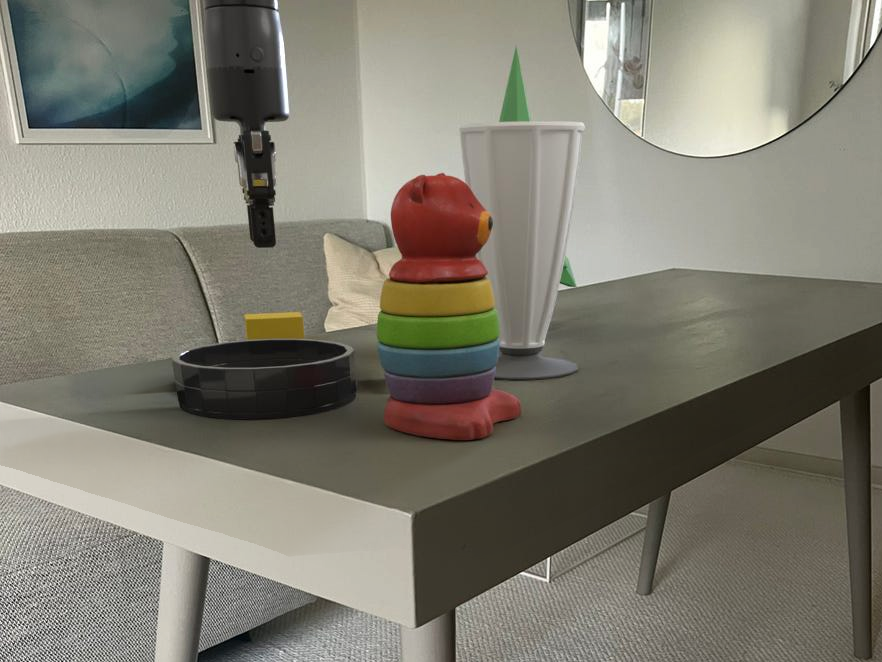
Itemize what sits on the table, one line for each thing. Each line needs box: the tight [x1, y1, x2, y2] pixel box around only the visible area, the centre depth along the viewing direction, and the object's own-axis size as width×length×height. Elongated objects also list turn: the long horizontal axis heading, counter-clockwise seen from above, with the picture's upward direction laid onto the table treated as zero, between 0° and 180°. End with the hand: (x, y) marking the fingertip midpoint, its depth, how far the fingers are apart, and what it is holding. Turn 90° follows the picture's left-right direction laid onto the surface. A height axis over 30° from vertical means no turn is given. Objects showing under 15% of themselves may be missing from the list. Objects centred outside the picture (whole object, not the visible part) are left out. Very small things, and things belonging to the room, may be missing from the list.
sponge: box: [243, 311, 306, 340], centre depth 107 cm, size 6×4×4 cm, turn 104°
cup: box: [459, 120, 586, 381], centre depth 93 cm, size 12×12×22 cm
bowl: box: [171, 338, 357, 420], centre depth 86 cm, size 15×15×4 cm
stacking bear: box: [376, 172, 522, 441], centre depth 74 cm, size 11×10×18 cm
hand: (262, 244), depth 103 cm, fingers open, 8 cm apart
